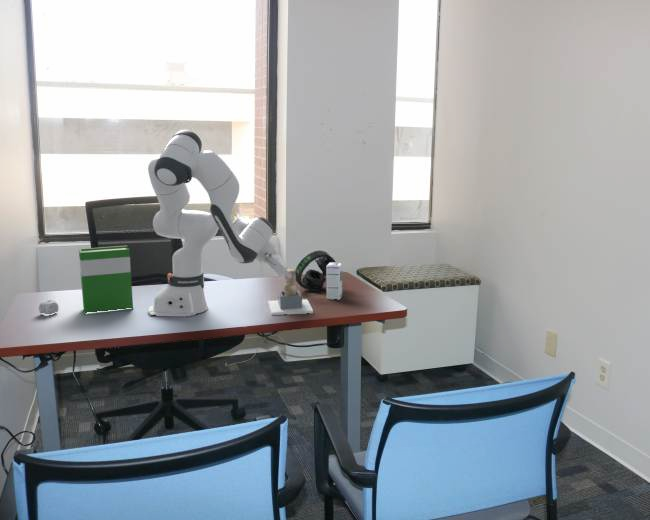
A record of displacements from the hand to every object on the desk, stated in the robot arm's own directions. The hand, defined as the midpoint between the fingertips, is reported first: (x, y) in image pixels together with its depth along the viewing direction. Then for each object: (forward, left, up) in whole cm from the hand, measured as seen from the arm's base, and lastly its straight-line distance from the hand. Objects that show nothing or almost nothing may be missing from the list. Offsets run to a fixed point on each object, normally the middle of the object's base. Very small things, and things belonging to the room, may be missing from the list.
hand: (290, 275), depth 242 cm
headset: (+15, +28, -14) cm, 35 cm away
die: (-91, +6, -14) cm, 92 cm away
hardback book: (-70, +9, -14) cm, 72 cm away
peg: (0, 0, -10) cm, 10 cm away
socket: (0, 0, -13) cm, 13 cm away
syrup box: (+20, +12, -14) cm, 27 cm away
